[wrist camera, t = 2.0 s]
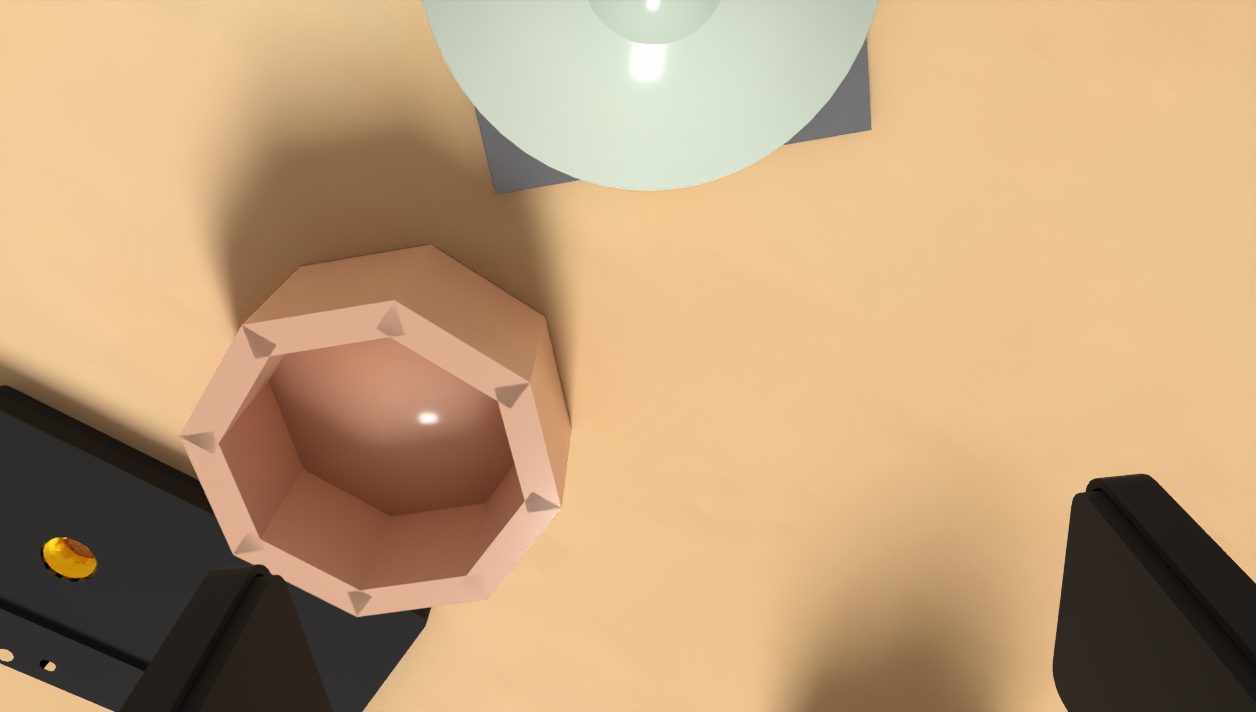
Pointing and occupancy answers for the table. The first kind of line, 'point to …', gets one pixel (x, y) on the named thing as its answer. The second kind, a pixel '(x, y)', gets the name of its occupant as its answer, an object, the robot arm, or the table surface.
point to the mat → (834, 118)
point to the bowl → (385, 433)
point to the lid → (649, 79)
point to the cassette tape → (134, 566)
